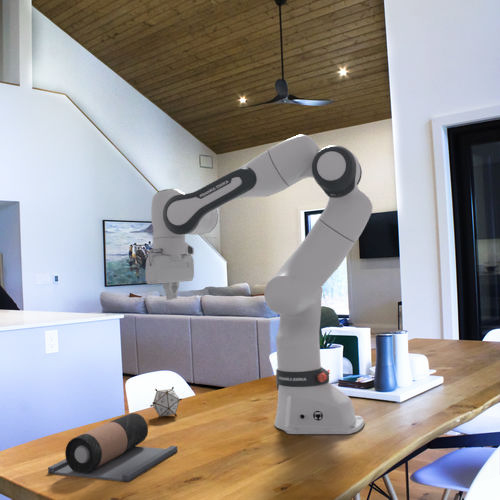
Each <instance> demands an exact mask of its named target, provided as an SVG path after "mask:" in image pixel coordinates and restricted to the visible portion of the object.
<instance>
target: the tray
mask: <svg viewBox="0 0 500 500" xmlns="http://www.w3.org/2000/svg"><path fill="white" fill-rule="evenodd" d="M177 452H178V446H177V445H170V446H169V447H167V448H161V447H158V448H157V447H149V446H138V445H136V446H135V447H133V448H131V449H130V450H128V451H126V452H125V453H123V454H121V455H120V456H118V457H116V458H114V459H112V460H110V461H108V462H106V463H105V464H103V465H101V466H99V467H97V468H95V469H93V470H91V471H89V472H88V473H86V474H85V473H80V472H74V471H73V470H72V469H71V468H70V467H69V465H68V463H67V461H66V458H65V459H63V460H61V461H58V462H56V463H54V464H53V465H50V466H48V467H47V471H48V472H47V473H48V474H50V475H51V474H52V475H59V476H60V475H61V476H69V477H79V478H80V477H81V478H88V479H89V478H90V479H98V480H107V481H118V482H124V483H125V482H126V483H130V482H131V481H132V480H134V479H136V478H137V477H139V476H141V475H142V474H144V473H145V472H147V471H149V470H150V469H152V468H154V467H156V465H158V464H159V463H161V462H163V461H164V460H167V458H170V457H171V456H173V455H174V454H177Z"/></svg>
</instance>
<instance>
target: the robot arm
mask: <svg viewBox="0 0 500 500" xmlns="http://www.w3.org/2000/svg"><path fill="white" fill-rule="evenodd" d="M362 174H363V172H362V167H361V163H360V162H359V160H358V158H357V156H356V155H355V154H354V153H353V151H351V150H349V149H347V148H346V147H345V146H342V145H336V144H335V145H334V144H332V145H328V146H325V147H323V148H322V149H321V148H320V147H319V146H318V144H317V142H316V141H315V140H314V139H313V138H312V137H310V135H306V134H298V135H296V136H292V137H290V138H287V139H286V140H283V141H281V142H278V143H277V144H275V145H273V146H271V147H269V148H268V149H267V150H265V151H263V152H262V153H260V154H259V155H256V157H254V158H252V159H251V160H250V161H248V162H246V163H244V164H243V165H241V166H240V167H238V168H236V169H235V170H233V171H230V173H227V174H225V175H224V176H222V177H220V178H218V179H216V180H214V181H212V182H210V183H208V184H207V185H205V186H203V187H201V188H200V189H197V190H195V191H193V192H189V193H185V192H182V191H181V190H180V189H179V188H178V189H177V188H166V189H161V190H160V191H157V192H155V194H154V195H153V197H152V199H151V214H150V215H151V225H152V228H153V233H152V248H151V249H150V251H148V253H147V257H146V261H145V282H146V284H147V285H158V284H162V288H163V290H164V293H165V299H166V300H167V301H172V300H177V299H178V291H179V288H180V283H181V282H183V283H184V282H192V281H193V279H194V278H195V266H194V265H195V262H194V257H193V256H194V254H195V249H194V247H193V246H192V245H190V244H189V243H188V242H187V241H186V238H185V237H186V235H197V236H201V235H206V234H209V233H211V232H212V231H213V230H215V228H216V226H217V223H218V219H219V218H218V217H219V214H218V209H220V208H221V207H223V206H225V205H227V204H229V203H230V202H232V201H235V200H238V199H241V198H242V199H243V198H252V197H255V198H257V197H260V198H266V197H270V196H272V195H273V196H274V195H275V194H278V193H281V192H282V191H285V190H287V189H289V188H290V187H291V186H293V185H295V184H296V183H299V182H301V181H302V180H304V179H308V178H313V179H314V180H315V182H316V184H317V185H318V186H319V187H320V188H321V189H322V191H323V192H324V194H325V195H326V196H327V197H328V201H327V204H326V207H325V208H324V210H323V211H322V213H321V214H320V216H319V217H318V218H317V220H316V222H315V223H314V225H313V226H312V227H311V229H310V230H309V232H308V233H307V235H306V237H305V238H304V239H303V241H302V242H301V244H300V245H299V246H298V247H297V248H296V250H295V251H294V252H293V253H292V254H291V256H289V258H288V259H287V260H286V261H285V262H284V263H283V265H282V266H281V267H280V268H279V270H278V271H277V272H276V274H275V275H274V276H273V277H272V278H271V279H270V280H269V281H268V282H267V284H266V286H265V287H264V288H265V289H264V295H263V296H264V300H265V303H266V305H267V307H268V308H269V309H270V310H271V311H272V312H274V313H275V314H277V315H280V316H279V324H278V331H277V334H276V336H275V337H276V339H275V341H276V343H275V344H276V346H275V347H276V361H277V363H276V364H277V369H276V371H275V373H276V374H275V381H276V382H275V383H276V384H275V385H276V391H277V406H276V407H277V408H276V415H275V421H274V424H273V425H274V427H275V428H278V429H280V430H282V431H284V432H285V433H286V434H288V435H351V434H354V433H356V432H358V431H360V430H361V429H362V428H363V427H364V424H365V421H364V418H363V416H361V415H356V414H355V407H354V405H353V402H352V399H351V398H350V397H349V395H347V394H346V393H344V392H342V390H340V389H339V388H337V387H336V386H334V385H333V384H332V383H331V382H330V374H331V373H330V372H331V371H330V370H331V369H328V370H327V369H325V368H324V367H322V366H321V365H322V364H321V346H320V345H321V344H320V328H321V317H322V316H321V315H322V314H321V313H322V297H323V286H324V285H325V283H326V282H327V281H328V280H329V278H330V277H331V276H332V275H334V273H335V272H336V271H337V270H339V267H340V266H341V265H342V264H343V261H344V260H345V259H346V257H347V256H348V254H349V253H350V251H351V250H352V248H353V247H354V245H355V244H356V243H357V241H358V239H359V238H360V236H361V235H362V233H363V231H364V230H365V227H366V226H367V223H368V222H369V219H370V218H371V215H372V212H373V203H372V202H371V200H370V198H369V196H367V194H366V193H364V192H362V191H361V190H360V189H359V187H358V185H359V183H360V182H361V179H362Z"/></svg>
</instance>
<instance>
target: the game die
mask: <svg viewBox="0 0 500 500" xmlns="http://www.w3.org/2000/svg"><path fill="white" fill-rule="evenodd" d="M174 389H175V387H174V386H172V387H171V388H169V389H162V390H161V389H160V390H158V389H157V388H154V391H155V395H154V399H153V401H152V404H150V405H149V407H153V408H154V410H155V412H156V413H157V415H158V417H157V418H158V420H159V419H161V417H167V416H175V417H178V415H177V414H176V412H177V409H178V407H179V403H180V401H182V400H183V398H179V396H178V395H177V394H176V392H175V390H174Z"/></svg>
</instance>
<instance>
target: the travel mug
mask: <svg viewBox="0 0 500 500" xmlns="http://www.w3.org/2000/svg"><path fill="white" fill-rule="evenodd" d="M148 426H149V425H148V423H147V420H146V419H145V417H144V416H142V415H141V414H139V413H136V412H131V413H128V414H126V415H123V416H120V417H118V418H115V419H113V420H110V421H107V422H105V423H104V424H101V425H99V426H96V427H95V428H93V429H91V430H88V431H86V432H83V433H82V434H80V435H77V436H75V437H74V438H71V439H70V440H69V441H68V442H67V444H66V446H65V450H64V451H65V452H64V453H65V454H64V455H65V459H66V461H67V463H68V465H69V467H70V468H71V469H72V470H73V471H74V472H80V473H85V474H86V473H88V472H89V471H91V470H93V469H95V468H97V467H99V466H101V465H103V464H105V463H106V462H108V461H110V460H112V459H114V458H116V457H118V456H120V455H121V454H123V453H125V452H126V451H128V450H130V449H131V448H133V447H135V446H138V445H140V444H141V443H142V442H144V441H145V440H146V438H147V436H148V433H149V427H148Z"/></svg>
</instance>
